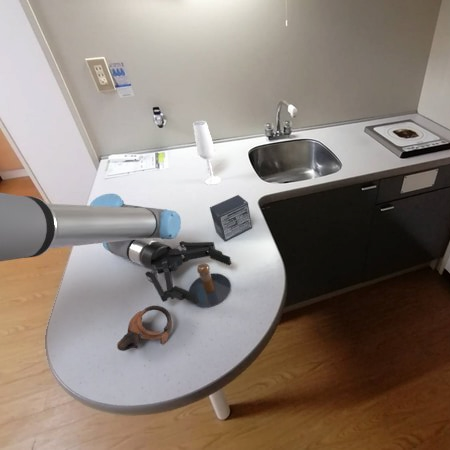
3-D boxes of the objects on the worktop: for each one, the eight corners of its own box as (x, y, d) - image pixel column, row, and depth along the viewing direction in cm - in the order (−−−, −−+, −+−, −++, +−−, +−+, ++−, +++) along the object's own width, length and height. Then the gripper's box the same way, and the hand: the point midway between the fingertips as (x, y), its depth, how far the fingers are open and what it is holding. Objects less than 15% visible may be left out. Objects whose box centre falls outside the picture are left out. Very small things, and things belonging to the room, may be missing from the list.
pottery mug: (147, 312, 77) (155, 294, 73) (174, 337, 77) (184, 320, 72) (103, 346, 67) (109, 328, 63) (134, 375, 67) (143, 358, 62)
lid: (199, 315, 76) (189, 290, 70) (182, 287, 83) (172, 262, 77) (238, 293, 81) (232, 268, 75) (219, 268, 88) (212, 243, 82)
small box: (242, 218, 105) (238, 193, 99) (253, 228, 102) (249, 202, 95) (215, 232, 100) (208, 206, 93) (225, 242, 96) (219, 216, 90)
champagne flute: (224, 180, 125) (213, 122, 109) (210, 186, 121) (196, 128, 106) (215, 174, 128) (202, 118, 113) (201, 180, 125) (186, 123, 109)
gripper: (186, 236, 95) (243, 257, 88) (119, 296, 78) (184, 327, 71) (179, 218, 91) (239, 238, 84) (107, 277, 73) (175, 308, 66)
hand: (214, 279), depth 77 cm, fingers open, 13 cm apart
